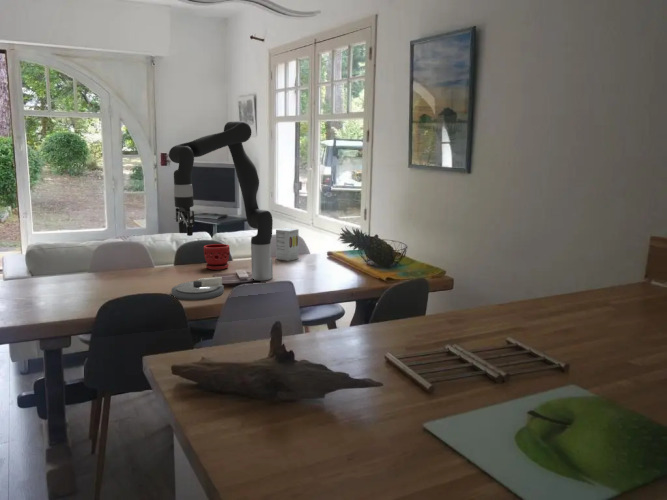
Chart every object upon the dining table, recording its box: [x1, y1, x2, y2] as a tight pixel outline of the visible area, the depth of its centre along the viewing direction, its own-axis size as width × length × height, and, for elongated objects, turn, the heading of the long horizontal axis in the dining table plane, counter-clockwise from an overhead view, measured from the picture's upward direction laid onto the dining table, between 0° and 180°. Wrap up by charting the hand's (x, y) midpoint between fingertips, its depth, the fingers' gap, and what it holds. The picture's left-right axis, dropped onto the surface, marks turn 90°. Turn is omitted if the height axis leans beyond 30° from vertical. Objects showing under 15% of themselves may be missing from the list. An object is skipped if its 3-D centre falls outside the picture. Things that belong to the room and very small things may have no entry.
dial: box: [175, 276, 223, 294], centre depth 248 cm, size 20×18×4 cm
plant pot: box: [203, 243, 231, 271], centre depth 295 cm, size 13×13×12 cm
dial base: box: [171, 284, 225, 301], centre depth 248 cm, size 22×22×2 cm
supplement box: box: [275, 227, 299, 262], centre depth 318 cm, size 10×9×17 cm
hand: (185, 234), depth 237 cm, fingers open, 8 cm apart
